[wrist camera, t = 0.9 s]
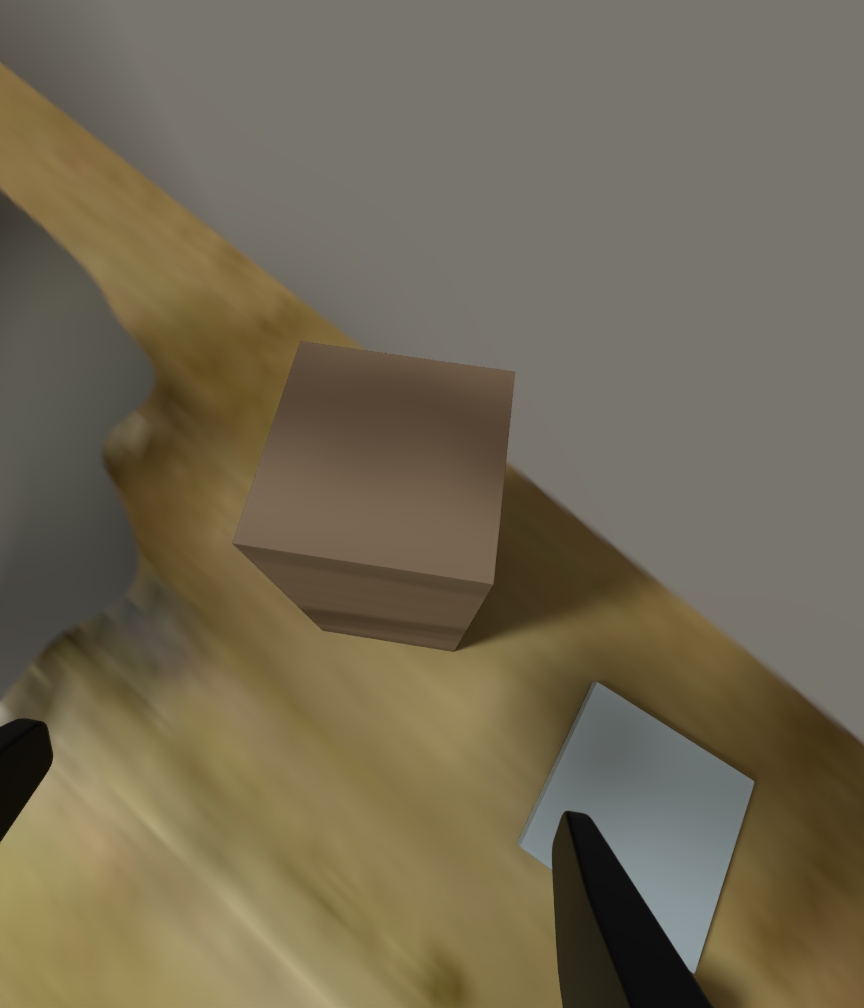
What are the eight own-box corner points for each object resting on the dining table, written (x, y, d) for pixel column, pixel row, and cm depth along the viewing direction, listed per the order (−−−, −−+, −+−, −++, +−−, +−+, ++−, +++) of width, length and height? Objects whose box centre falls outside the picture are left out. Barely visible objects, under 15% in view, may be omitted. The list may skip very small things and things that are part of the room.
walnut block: (453, 651, 22) (493, 584, 11) (322, 630, 22) (232, 543, 11) (469, 528, 24) (514, 371, 13) (351, 510, 25) (300, 341, 14)
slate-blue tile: (685, 965, 18) (694, 973, 17) (517, 842, 19) (519, 846, 18) (745, 779, 20) (754, 781, 20) (592, 682, 22) (597, 681, 21)
